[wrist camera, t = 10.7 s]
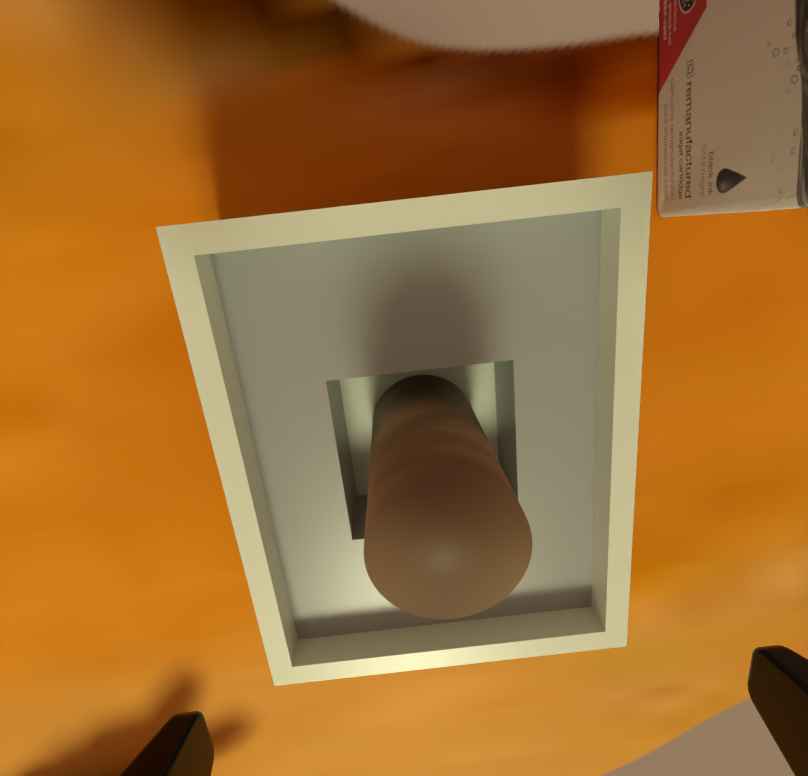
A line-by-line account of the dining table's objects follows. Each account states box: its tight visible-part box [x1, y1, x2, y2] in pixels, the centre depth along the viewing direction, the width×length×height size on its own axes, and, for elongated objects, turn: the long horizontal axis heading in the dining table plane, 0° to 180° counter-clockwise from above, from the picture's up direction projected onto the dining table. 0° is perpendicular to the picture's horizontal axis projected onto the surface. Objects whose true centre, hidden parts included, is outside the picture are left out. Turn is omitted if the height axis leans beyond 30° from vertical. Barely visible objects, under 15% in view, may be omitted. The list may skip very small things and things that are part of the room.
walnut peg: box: [364, 375, 533, 619], centre depth 15 cm, size 4×4×8 cm
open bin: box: [156, 171, 653, 686], centre depth 17 cm, size 13×16×5 cm
